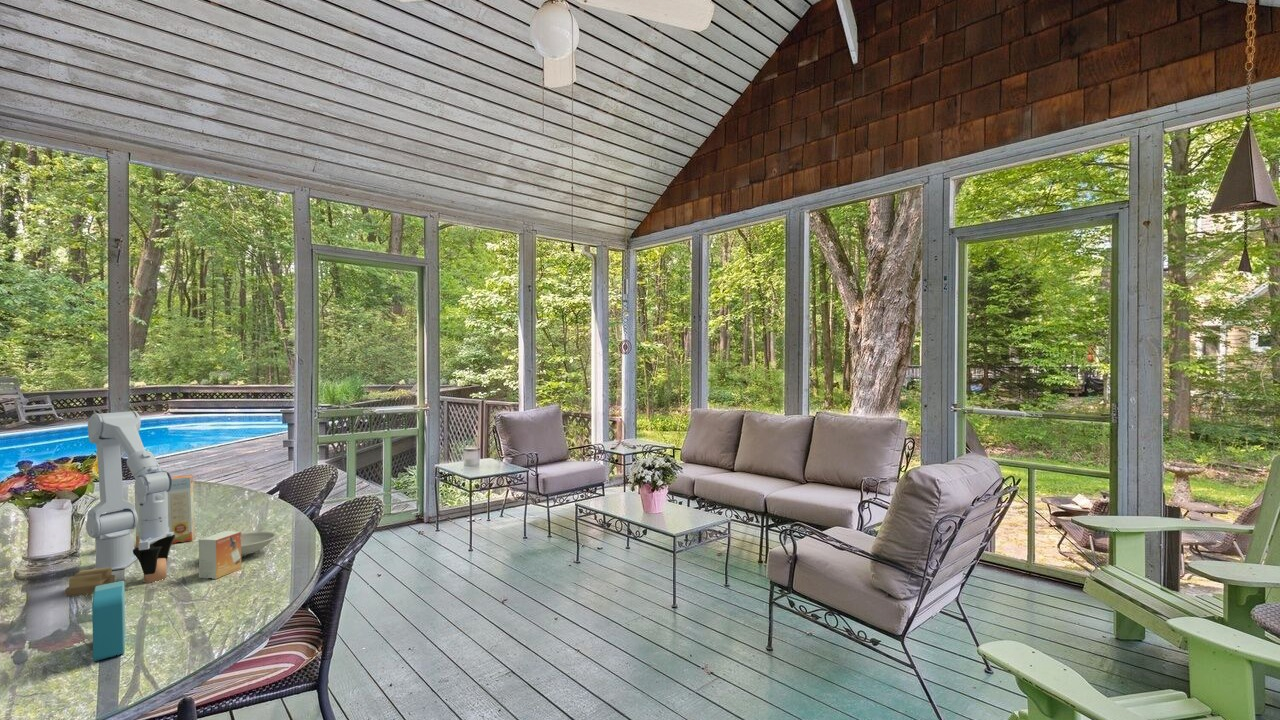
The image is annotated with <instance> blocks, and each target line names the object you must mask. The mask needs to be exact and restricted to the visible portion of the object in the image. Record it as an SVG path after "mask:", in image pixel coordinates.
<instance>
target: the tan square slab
mask: <svg viewBox="0 0 1280 720" xmlns="http://www.w3.org/2000/svg"><path fill="white" fill-rule="evenodd" d="M115 575H116V574H111V577H110V578H108V579H107V580H105V581H104V582H103V583H101V584H100V585H104V584H109V583H114V582H116V576H115ZM96 586H99V585H91V586H83V587H75V588H69V586H68V587H67V588H65V597H66V598H68V597H74V596H81V595H88V594H90V595H91V594H94V590H95V587H96Z"/></svg>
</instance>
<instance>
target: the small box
mask: <svg viewBox="0 0 1280 720" xmlns="http://www.w3.org/2000/svg"><path fill="white" fill-rule="evenodd" d="M241 534H242V532H241V531H234V530H233V531H232V530H224V531H221V532H218V533H215V534H213V535H212V534H211V535H209V536H207V537H203V538H200V539H198V578H199V579H208V578H212V579H211V580H217V579H219V578H222V577H224V576H227V575H229V574H232V573H234V572H237V571H240V570H242V557H241Z"/></svg>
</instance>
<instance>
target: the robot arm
mask: <svg viewBox="0 0 1280 720" xmlns="http://www.w3.org/2000/svg"><path fill="white" fill-rule="evenodd" d="M141 425H142V419H141V416H140V414H139V413H138V412H137V411H136V410H130V411H116V412H106V413H103V412H102V413H98V412H97V413H96V412H95V413H92V415H91V416H90V417H89V419H88V422H87V434H88V435H87V436H88V440H89V443H92V444H94V445H96V446H95V447H96V454H97V457H96V458H97V474H98V486H99V502H98V503H97V504H95V506H93V507H92V508H90V509H89V511H87V513H86V515H87V517H86V523H85V529H86V533H87V535H88V536H89V537H90V538H92V539H95V567H93V568H92V569H98V568H107V567H111V571H115V570H116V571H117V570H123V569H126V568H128V567H129V566H130V565H131V564H133V563H135V562H136V561H137V560H138V562H139V564H140V567H141V571H142V573H143V576H144V575H147V574H154V573H155V571H156V566H157V559H158V558H166V562H167V561H168V557H169V554H170V553H169V552H170V549H171V546H172V545H173V544H172V542H173V540H174V538H175V535H174V532H169V527H168V492H169V491H170V490H171V488H172V477H171V476H172V474H171V473H170V471H168V470H167V469H165V468H164V467H160V465H159V462H158V461H157V458H156V457H155V455H154V454H153V452H151V451H148V450H145V446H144V444H143V442H142V438H141V436H140V433H139V432H140V428H141V427H142V426H141ZM121 448H122V449H123V451H125V453H126V454H127V456H128V458H127V460H126V465H127V467H128V468H129V470H130V472H131V474H132V477H134V485H133V487H134V493H135V492H136V495H137V501H138V503H140V537H139V539H140V542H139V548H136V547H135V537H134V534H133V530H134V529H135V530H136V526H137V524H138V515H137V513H136V510H135V503H133V502H131V501H129V500H126V499H124V486H123V484H124V483H123V470H122V456H121V455H122V454H121Z"/></svg>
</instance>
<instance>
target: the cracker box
mask: <svg viewBox="0 0 1280 720" xmlns="http://www.w3.org/2000/svg"><path fill="white" fill-rule="evenodd" d="M171 477H172V488H171V490H170V491H169V492H168V527H169V532H174V535H175V538H174V540H173V542H172V543H174V544H177V543H176V542H181V543H185V542H184V541H189V542H193V539H194V538H195V537H196V535H195V534H196V532H195V531H196V530H195V507H194V506H195V505H194V504H195V501H194V498H195V497H194V495H195V494H194V475H193V474H186V475H185V474H183V475H173V476H172V475H171ZM134 505H135V510H136V513H137V515H138V524H137V526H136V527H135V545H136V546H135V548H139V542H140V539H139V537H140V503H138V501H137V495H136V492H135V491H134ZM194 536H195V537H194Z"/></svg>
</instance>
